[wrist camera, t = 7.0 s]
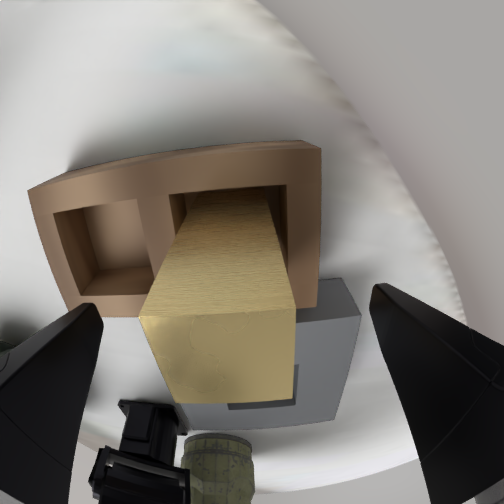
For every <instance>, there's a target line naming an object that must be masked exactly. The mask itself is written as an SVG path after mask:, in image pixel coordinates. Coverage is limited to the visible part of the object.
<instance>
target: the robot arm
mask: <svg viewBox="0 0 504 504" xmlns="http://www.w3.org/2000/svg"><path fill="white" fill-rule="evenodd" d="M369 311H370V315H371V318H372V321H373V325H374V328H375V331H376V335H377V338H378V342H379V345H380V349H381V352H382V354H383V357H384V359H385V362H386V364H387V367H388V370H389V372H390V375H391V377H392V380H393V382H394V385H395V388H396V390H397V393H398V396H399V399H400V401H401V404H402V407H403V410H404V413H405V416H406V419H407V421H408V424H409V427H410V431H411V434H412V437H413V440H414V443H415V446H416V450H417V453H418V456H419V459H420V462H421V467H422V471H423V474H424V478H425V481H426V485H427V489H428V493H429V498H430V502H431V504H462V503H464V502H466V501H468V500H469V499H471V498H473V497H474V498H475V501H476V503H477V504H504V346H503V345H501V344H499V343H497V342H495V341H493V340H491V339H489V338H488V337H486V336H484V335H482V334H480V333H478V332H477V331H475V330H473V329H471V328H470V329H469V327H468V326H466V325H464V324H462V323H461V322H459V321H457V320H455V319H453V318H451V317H450V316H448V315H446V314H444V313H442V312H440V311H439V310H437V309H435V308H433V307H431V306H429V305H427V304H426V303H424V302H422V301H420V300H418V299H416V298H414V297H412V296H411V295H409V294H407V293H405V292H403V291H401V290H399V289H397V288H395V287H393V286H391V285H389V284H388V283H380V284H375V285H374V286H373V289H372V295H371V300H370V305H369ZM103 328H104V325H103V321H102V318H101V316H100V314H99V311H98V309H97V307H96V305H95V304H94V303H82V304H80V305H79V306H77V307H76V308H74V309H73V310H71V311H69V312H68V313H66V314H65V315H63V316H62V317H60V318H59V319H57V320H56V321H54V322H52V323H51V324H49V325H48V326H46V327H45V328H43V329H42V330H40V331H39V332H37V333H36V334H34V335H33V336H32V337H30V338H29V339H27V340H26V341H24V342H23V343H21V344H20V345H18V346H17V347H15V348H14V349H13V350H11V351H10V352H8V353H7V354H5V355H4V356H3V357H1V358H0V504H68V498H69V490H70V482H71V475H72V472H71V471H72V467H73V461H74V455H75V449H76V444H77V439H78V434H79V429H80V425H81V420H82V416H83V412H84V408H85V404H86V400H87V396H88V392H89V388H90V384H91V381H92V377H93V374H94V370H95V367H96V362H97V357H98V352H99V347H100V342H101V338H102V333H103ZM118 406H119V408H120V409H121V410H122V412H123V413H124V415H125V416H126V417H127V418H126V422H125V425H124V429H123V433H122V439H121V443H120V447H119V451H118V450H115V449H113V448H111V447H109V446H107V445H105V448H99V451H98V455H97V459H96V461H95V465H94V467H93V469H92V472H91V474H90V477H89V480H88V482H89V484H90V485H91V487H92V492H93V498H95V499H97V500H99V503H98V504H191V489H190V469H187V468H179V467H174V458H175V450H176V443H177V435H181V436H186V435H188V431H187V429H186V427H185V425H184V424H183V422H182V420H181V418H180V416H179V414H178V412H177V410H176V408H175V407H174V406H172V405H163V404H148V403H137V402H127V401H119V402H118ZM109 464H112V465H113V466H112V467H111V466H109Z"/></svg>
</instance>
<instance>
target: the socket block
mask: <svg viewBox="0 0 504 504" xmlns="http://www.w3.org/2000/svg"><path fill="white" fill-rule="evenodd" d="M361 316H362V315H361V313H360V311H359V309H358V307H357V305H356V303H355V302H354V300H353V298H352V296H351V294H350V292H349V290H348V288H347V287H346V285H345V283H344V281H343V279H342V278H338V279H328V280H318V291H317V305H316V307H310V308H300V309H296V329H295V356H294V377H293V395H292V399H283V400H273V401H261V402H245V403H215V404H194V403H180V404H181V406H182V409H183V411H184V413H185V415H186V417H187V419H188V421H189V423H190V425H191V427H192V429H193V430H248V429H265V428H277V427H287V426H296V425H304V424H311V423H318V422H324V421H330V420H334V418H335V415H336V412H337V409H338V406H339V403H340V399H341V396H342V393H343V389H344V386H345V382H346V379H347V375H348V371H349V368H350V364H351V360H352V356H353V352H354V348H355V343H356V339H357V335H358V330H359V325H360V321H361Z"/></svg>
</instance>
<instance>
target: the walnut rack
mask: <svg viewBox="0 0 504 504" xmlns="http://www.w3.org/2000/svg"><path fill="white" fill-rule="evenodd" d="M251 188H263V189H264V193H265V196H266V199H267V203H268V206H269V210H270V213H271V217H272V220H273V224H274V228H275V231H276V235H277V238H278V242H279V246H280V249H281V253H282V257H283V260H284V264H285V268H286V271H287V275H288V279H289V283H290V286H291V290H292V294H293V298H294V302H295V306H296V309H300V308H310V307H316V305H317V291H318V275H319V257H320V232H321V148H319V147H317V146H314V145H312V144H310V143H307V142H305V141H302V140H295V141H268V142H251V143H238V144H226V145H216V146H206V147H198V148H190V149H182V150H175V151H168V152H161V153H155V154H149V155H143V156H138V157H132V158H127V159H122V160H117V161H112V162H107V163H103V164H98V165H94V166H90V167H86V168H82V169H77V170H74V171H70V172H66V173H63V174H61V175H59V176H57V177H54V178H52V179H50V180H48V181H46V182H44V183H42V184H39V185H37V186H35V187H33V188H31V189H29V190H27V191H28V196H29V200H30V204H31V208H32V212H33V215H34V219H35V223H36V226H37V229H38V233H39V236H40V239H41V242H42V245H43V248H44V251H45V254H46V257H47V260H48V263H49V265H50V268H51V271H52V273H53V276H54V278H55V281H56V283H57V286H58V288H59V291H60V293H61V295H62V298H63V300H64V302H65V304H66V307H67V309H68V311H71V310H73V309H74V308H76V307H77V306H79V305H80V304H82V303H94V304H95V305H96V307H97V309H98V311H99V314H100V316H101V317H138V316H139V314H140V311H141V309H142V307H143V305H144V302H145V300H146V298H147V296H148V293H149V291H150V289H151V287H152V285H153V282H154V280H155V278H156V276H157V274H158V272H159V270H160V268H161V265H162V263H163V261H164V259H165V257H166V255H167V253H168V251H169V249H170V247H171V245H172V243H173V241H174V239H175V237H176V235H177V233H178V231H179V229H180V227H181V225H182V223H183V221H184V219H185V218H186V216H187V214H188V212H189V210H190V208H191V206H192V204H193V202H194V201H195V199H196V197H197V195H198V193H206V192H216V191H227V190H238V189H251Z"/></svg>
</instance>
